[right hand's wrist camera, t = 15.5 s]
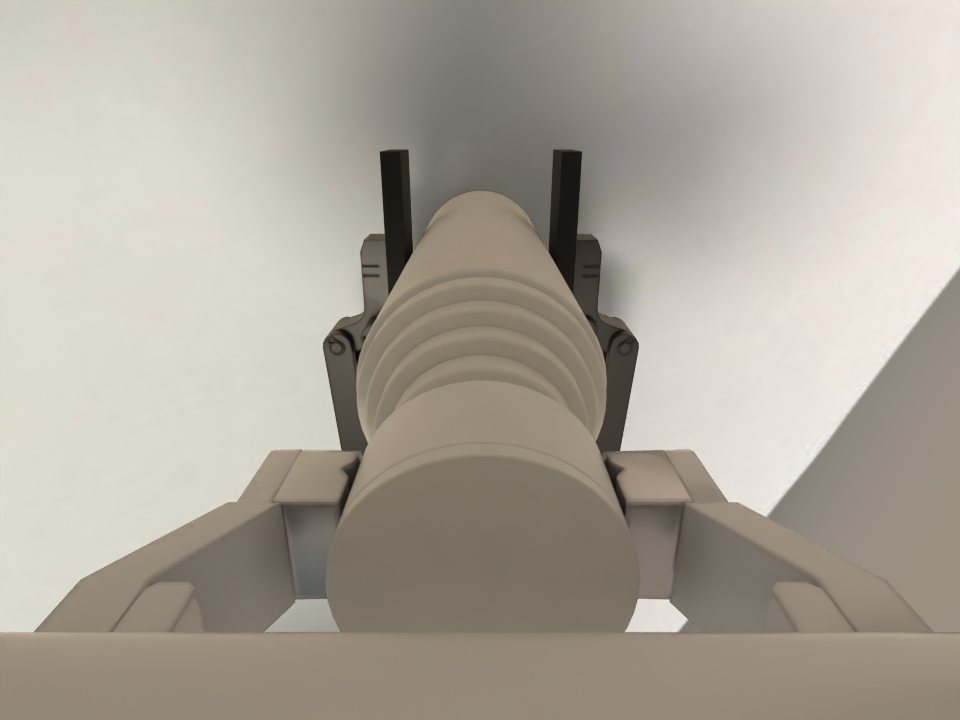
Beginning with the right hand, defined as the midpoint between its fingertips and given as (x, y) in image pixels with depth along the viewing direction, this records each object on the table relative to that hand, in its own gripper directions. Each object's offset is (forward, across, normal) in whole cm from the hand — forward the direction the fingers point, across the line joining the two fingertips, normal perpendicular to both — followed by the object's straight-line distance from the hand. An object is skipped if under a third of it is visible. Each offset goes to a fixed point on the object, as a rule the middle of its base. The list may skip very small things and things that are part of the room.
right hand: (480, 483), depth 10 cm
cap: (-2, 0, 0) cm, 2 cm away
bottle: (+22, 0, 0) cm, 22 cm away
